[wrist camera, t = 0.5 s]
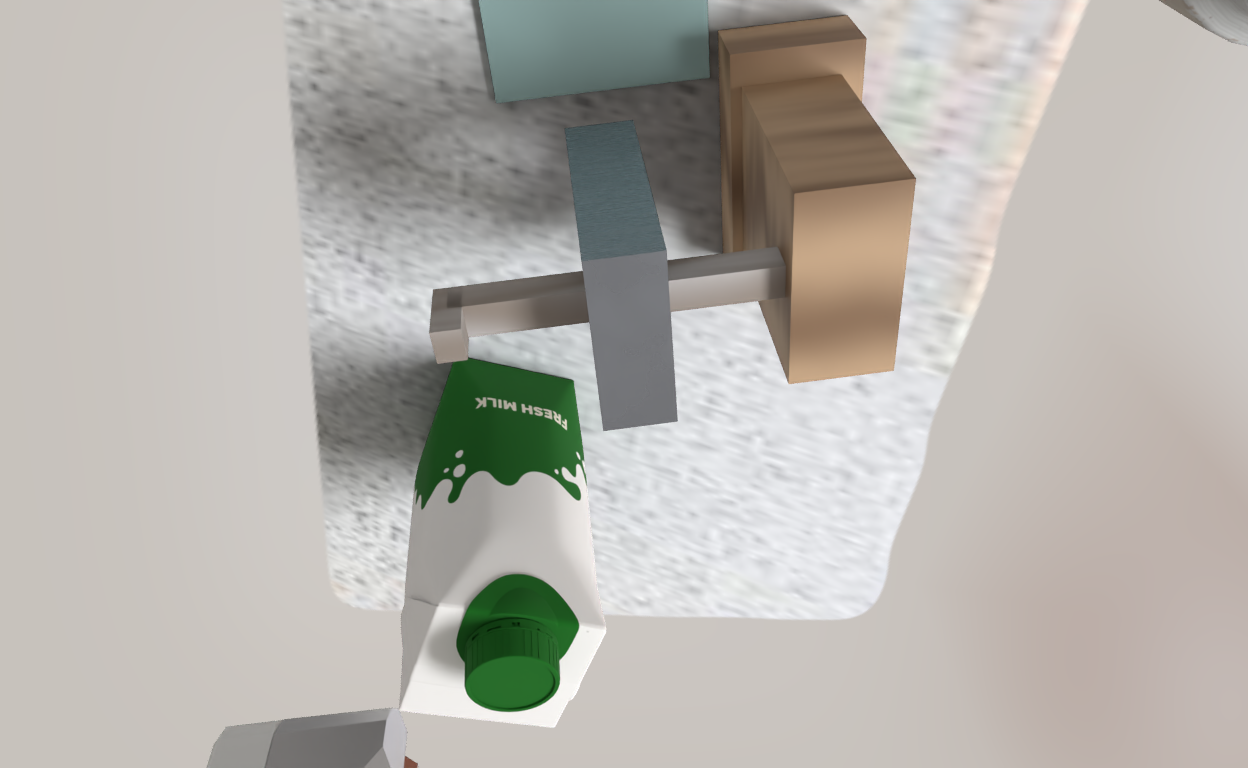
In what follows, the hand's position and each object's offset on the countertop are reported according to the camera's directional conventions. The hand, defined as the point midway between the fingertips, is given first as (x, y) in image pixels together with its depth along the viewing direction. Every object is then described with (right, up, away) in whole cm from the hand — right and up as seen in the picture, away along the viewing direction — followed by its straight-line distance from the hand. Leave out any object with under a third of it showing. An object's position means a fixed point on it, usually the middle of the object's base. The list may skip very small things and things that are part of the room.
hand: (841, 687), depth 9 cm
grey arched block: (-3, +11, +36) cm, 38 cm away
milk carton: (-9, +1, +49) cm, 50 cm away
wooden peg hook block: (-1, +14, +40) cm, 42 cm away
